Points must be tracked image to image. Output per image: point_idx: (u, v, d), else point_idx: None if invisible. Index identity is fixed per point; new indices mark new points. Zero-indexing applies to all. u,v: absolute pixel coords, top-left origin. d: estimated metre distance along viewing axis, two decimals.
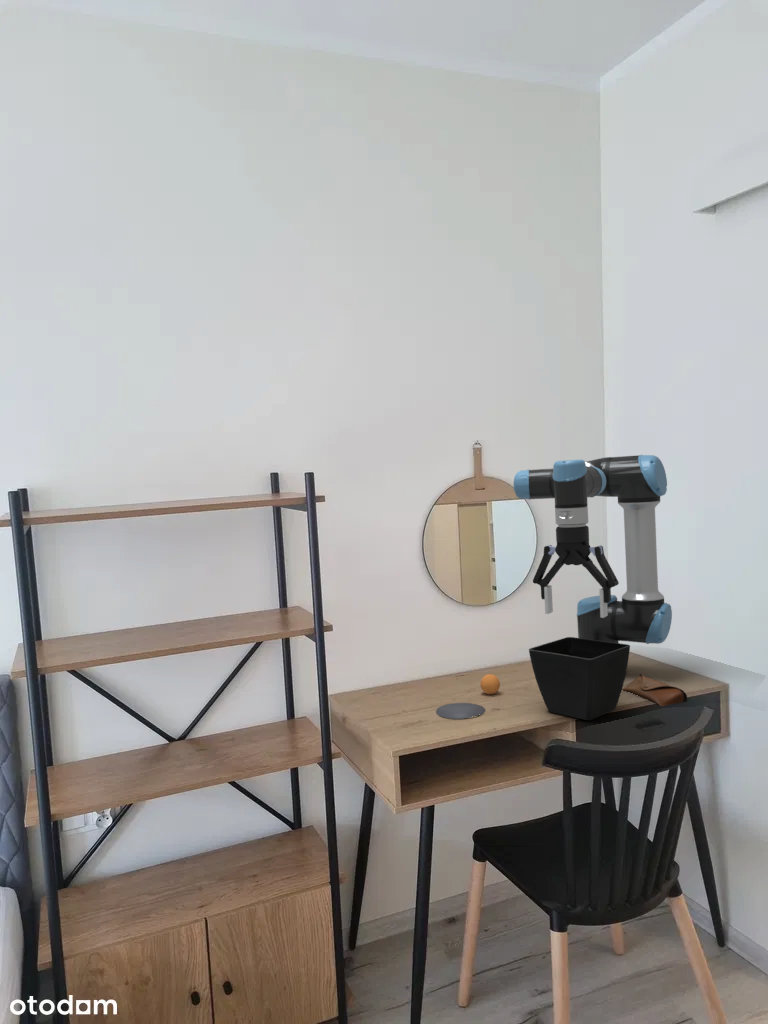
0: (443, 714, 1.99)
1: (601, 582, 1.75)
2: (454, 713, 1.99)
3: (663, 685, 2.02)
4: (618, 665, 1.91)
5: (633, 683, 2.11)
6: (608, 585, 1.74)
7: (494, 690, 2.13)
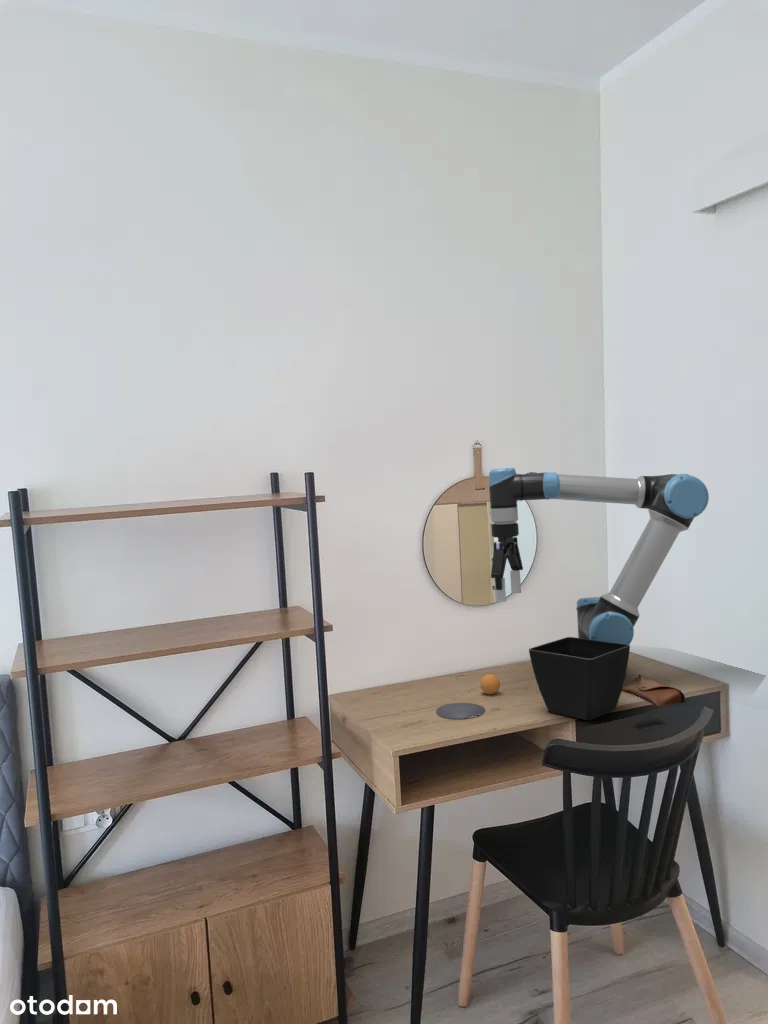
0: (443, 714, 1.99)
1: None
2: (454, 713, 1.99)
3: (661, 685, 2.02)
4: (618, 665, 1.91)
5: (631, 683, 2.11)
6: None
7: (494, 690, 2.13)
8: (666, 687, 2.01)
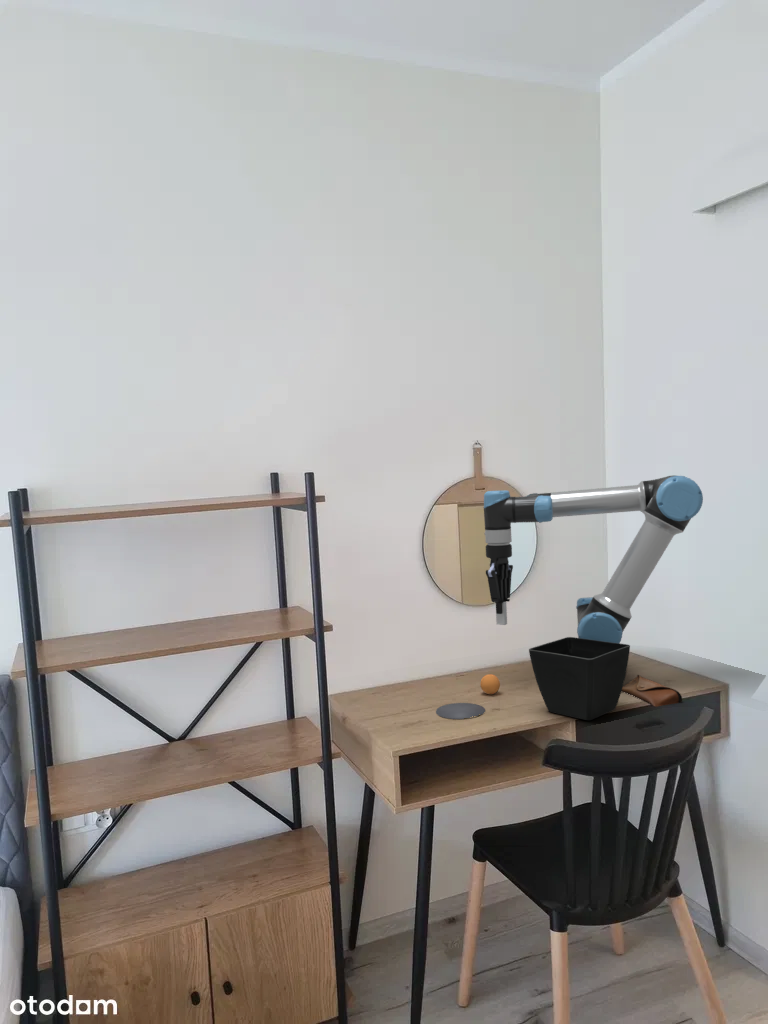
0: (443, 714, 1.99)
1: None
2: (454, 713, 1.99)
3: (658, 686, 2.02)
4: (618, 665, 1.91)
5: (630, 683, 2.11)
6: (495, 601, 2.20)
7: (494, 690, 2.13)
8: (663, 687, 2.01)
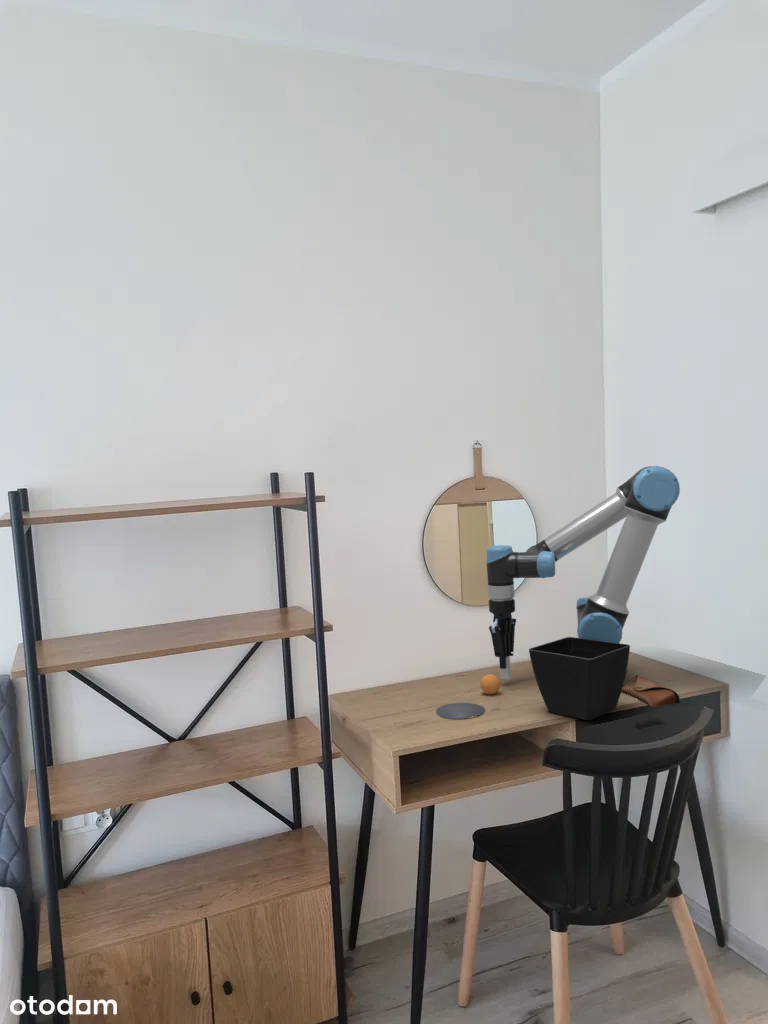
0: (443, 714, 1.99)
1: None
2: (454, 713, 1.99)
3: (656, 686, 2.02)
4: (618, 665, 1.91)
5: (628, 683, 2.11)
6: None
7: (494, 690, 2.13)
8: (661, 688, 2.00)
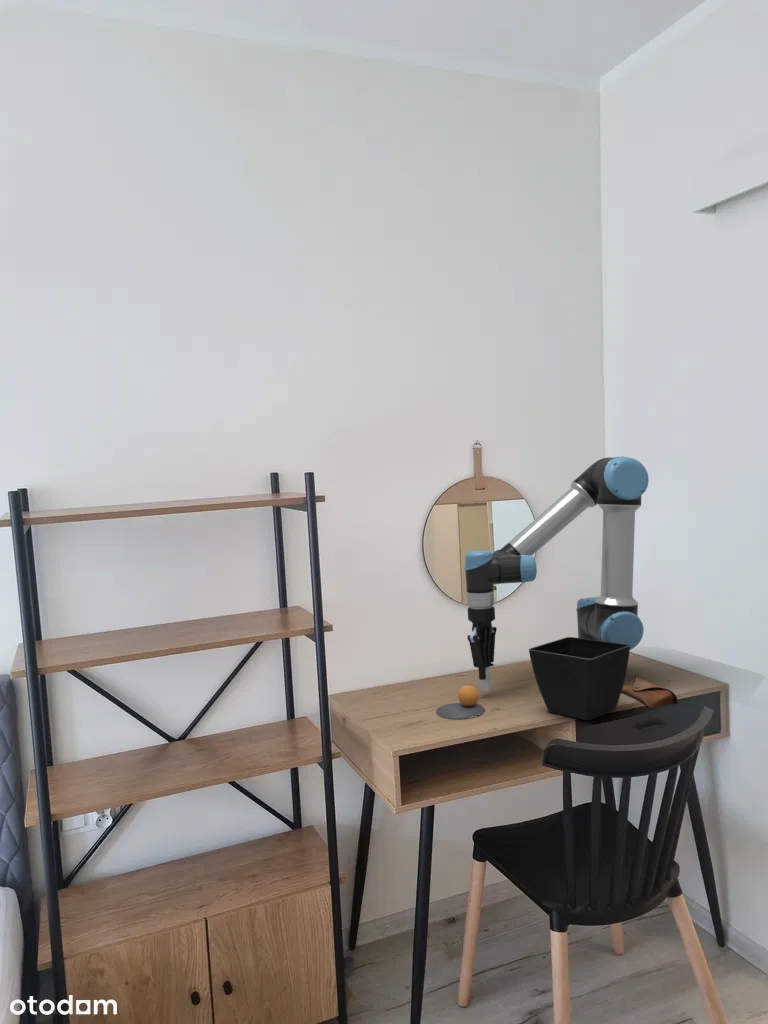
0: (443, 714, 1.99)
1: None
2: (454, 713, 1.99)
3: (654, 686, 2.02)
4: (618, 665, 1.91)
5: (626, 684, 2.11)
6: (478, 666, 2.11)
7: (474, 691, 2.04)
8: (659, 688, 2.00)
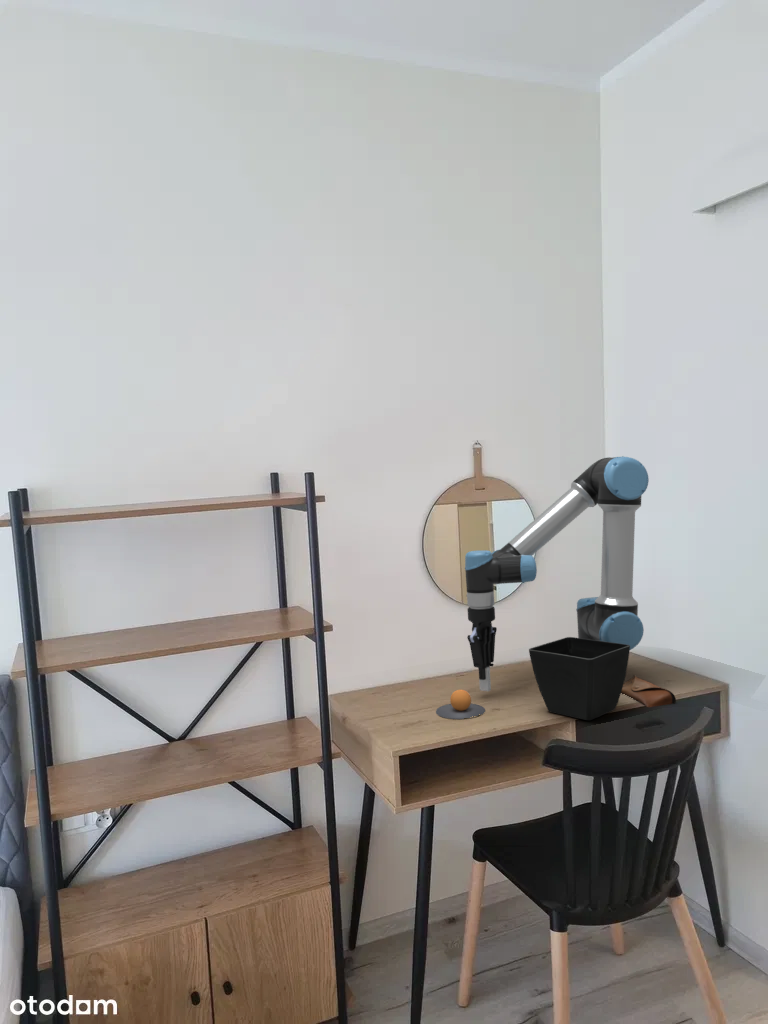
0: (443, 714, 1.99)
1: None
2: (454, 713, 1.99)
3: (653, 686, 2.02)
4: (618, 665, 1.91)
5: (625, 684, 2.11)
6: (478, 666, 2.11)
7: (464, 704, 1.99)
8: (657, 688, 2.00)
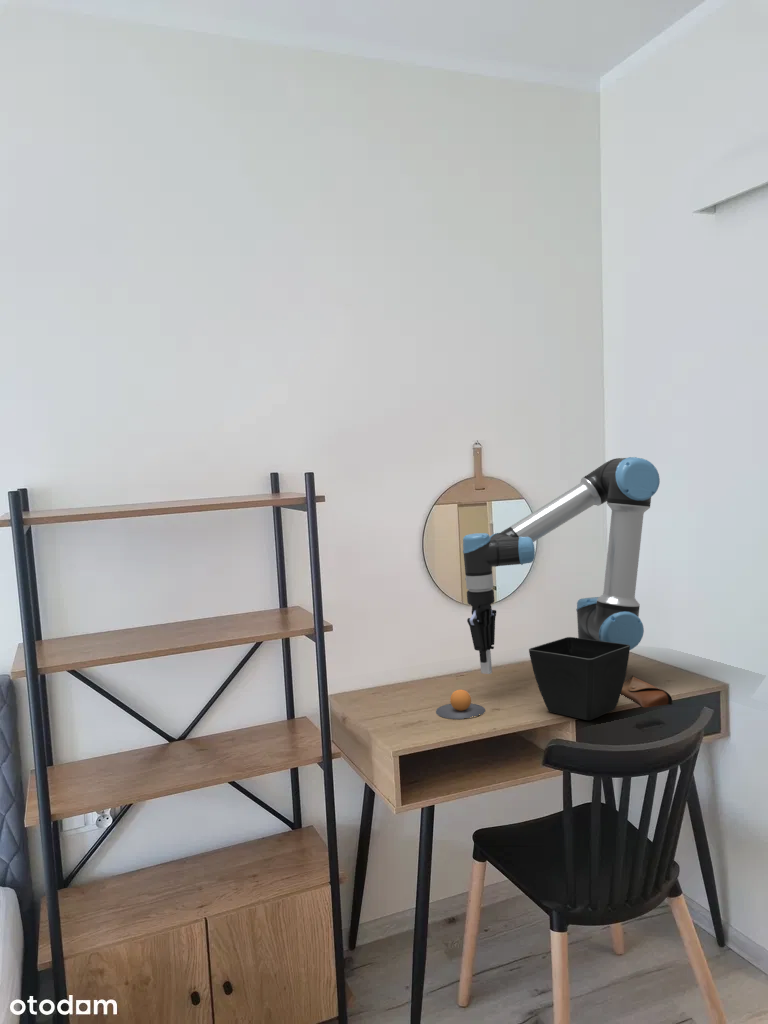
0: (443, 714, 1.99)
1: None
2: (454, 713, 1.99)
3: (649, 687, 2.02)
4: (618, 665, 1.91)
5: (623, 684, 2.11)
6: (479, 649, 2.11)
7: (464, 704, 1.99)
8: (654, 689, 2.00)
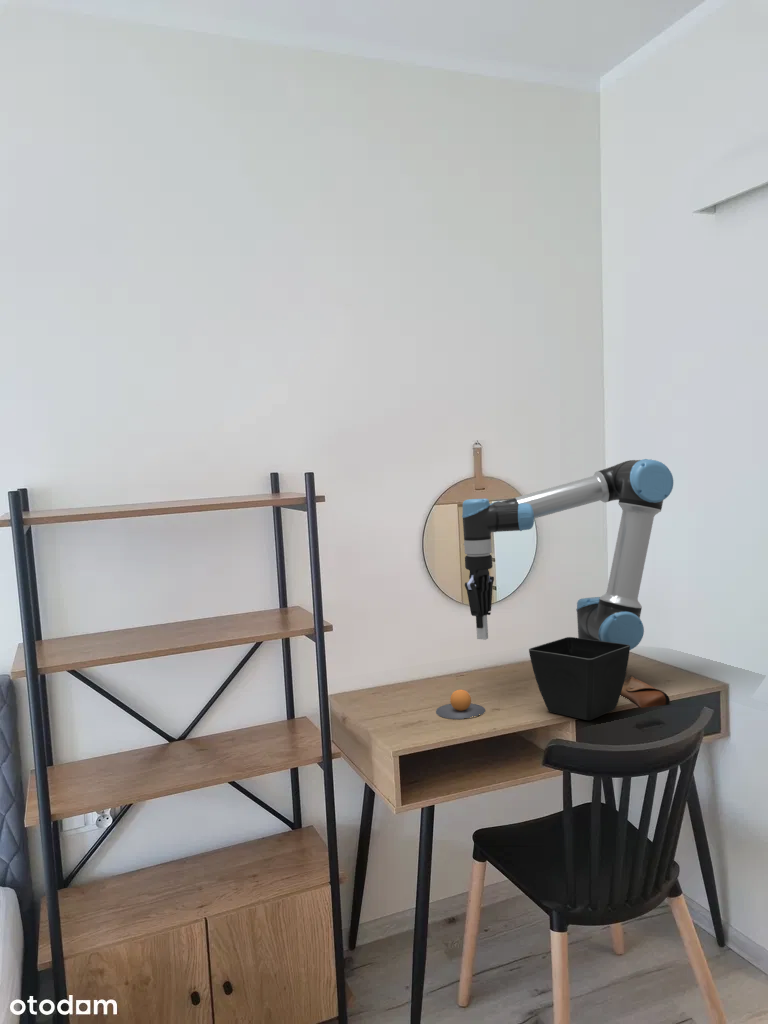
0: (443, 714, 1.99)
1: None
2: (454, 713, 1.99)
3: (647, 687, 2.01)
4: (618, 665, 1.91)
5: None
6: None
7: (464, 704, 1.99)
8: (652, 689, 2.00)
